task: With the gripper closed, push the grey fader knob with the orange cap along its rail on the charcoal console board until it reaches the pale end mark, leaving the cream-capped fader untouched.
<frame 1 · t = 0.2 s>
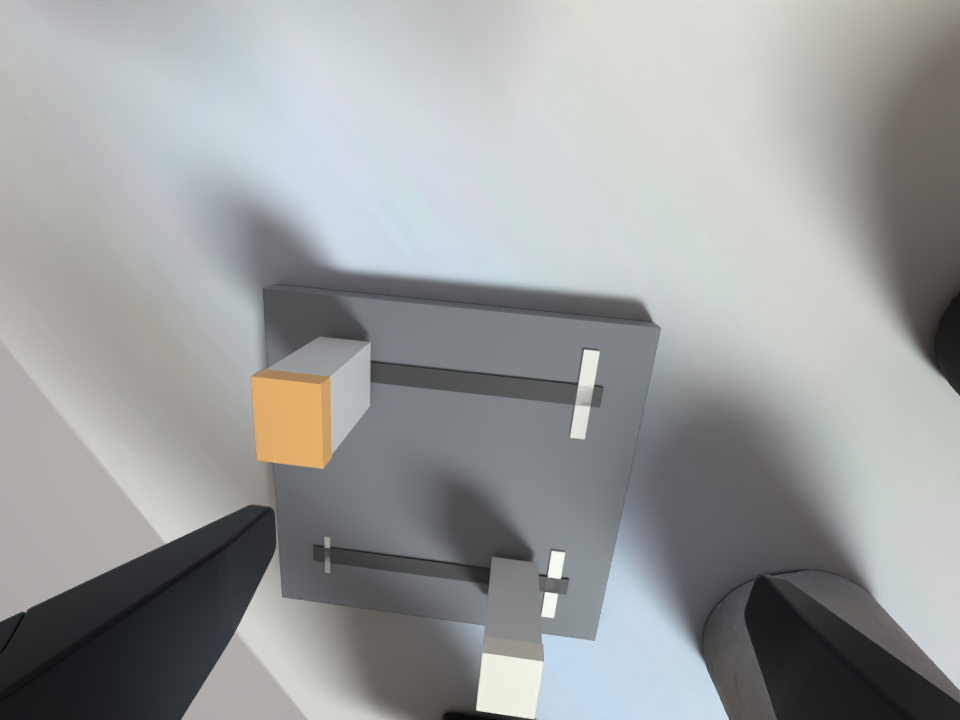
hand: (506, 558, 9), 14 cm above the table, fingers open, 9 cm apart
fader 1: (320, 394, 19), point 4 cm above the table, slide at 5.0 cm
console: (448, 469, 25), on the table
fader 2: (510, 629, 22), point 4 cm above the table, slide at -4.0 cm
pillar candle: (788, 632, 26), on the table
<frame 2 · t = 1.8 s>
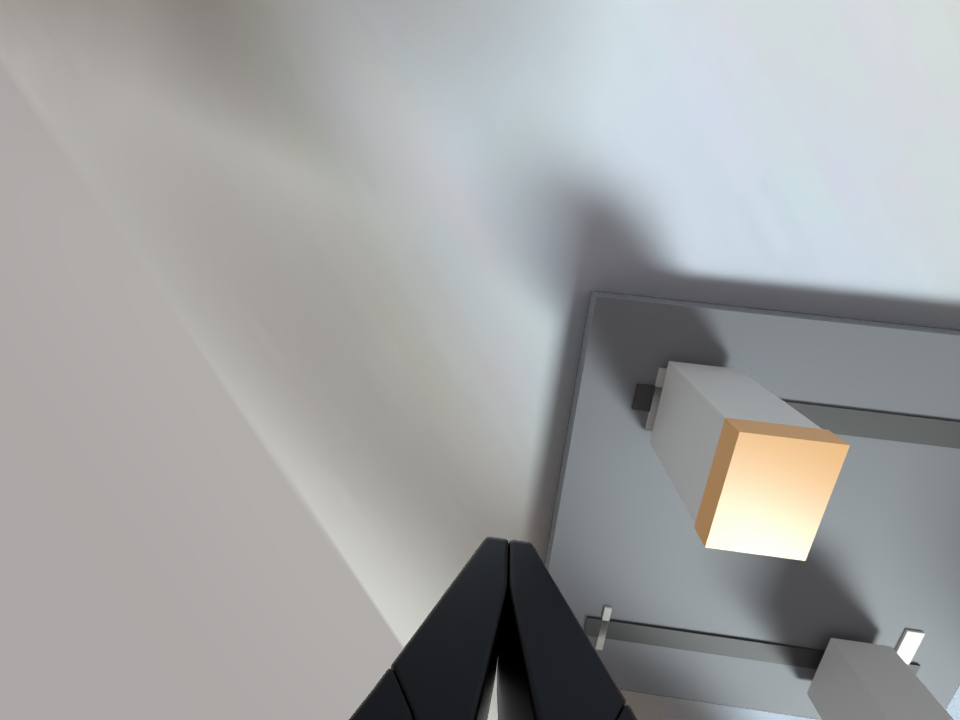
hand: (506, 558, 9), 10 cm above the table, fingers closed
fader 1: (725, 444, 14), point 4 cm above the table, slide at 5.0 cm
console: (769, 525, 20), on the table
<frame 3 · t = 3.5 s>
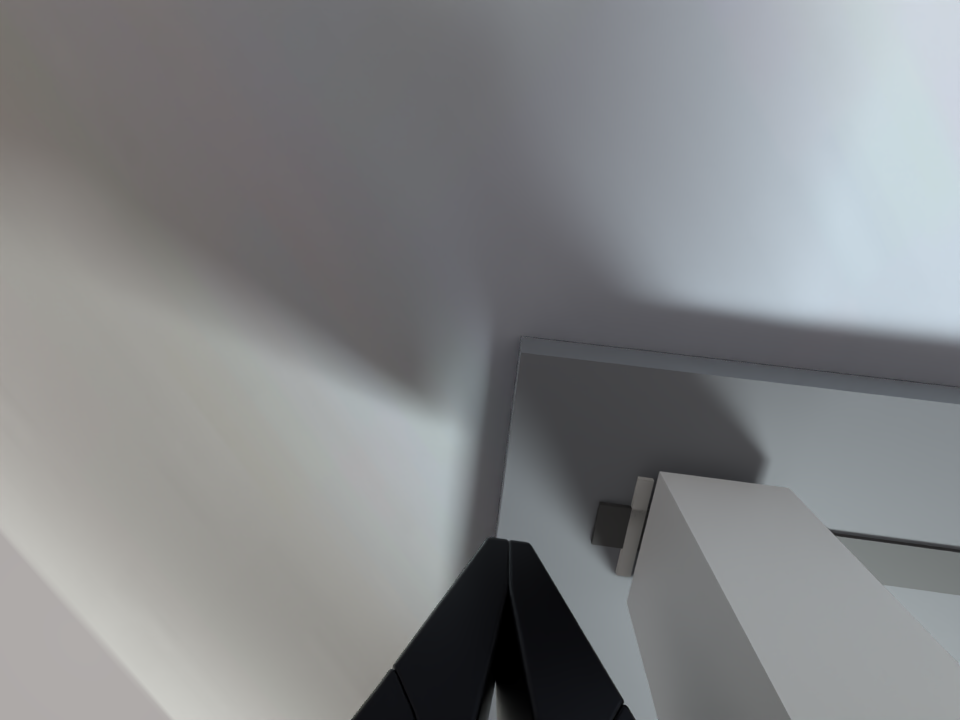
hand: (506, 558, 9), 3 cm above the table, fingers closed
fader 1: (775, 684, 7), point 4 cm above the table, slide at 4.9 cm, touching gripper
console: (817, 702, 12), on the table
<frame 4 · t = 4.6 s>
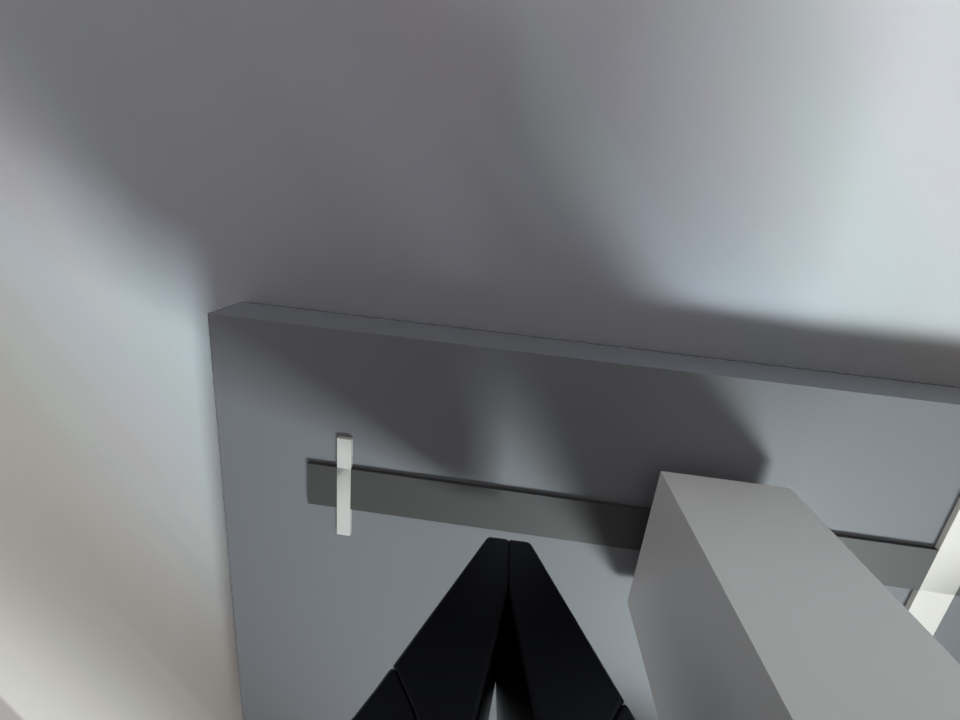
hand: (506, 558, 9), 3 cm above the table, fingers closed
fader 1: (776, 684, 7), point 4 cm above the table, slide at -1.3 cm, touching gripper
console: (582, 666, 13), on the table
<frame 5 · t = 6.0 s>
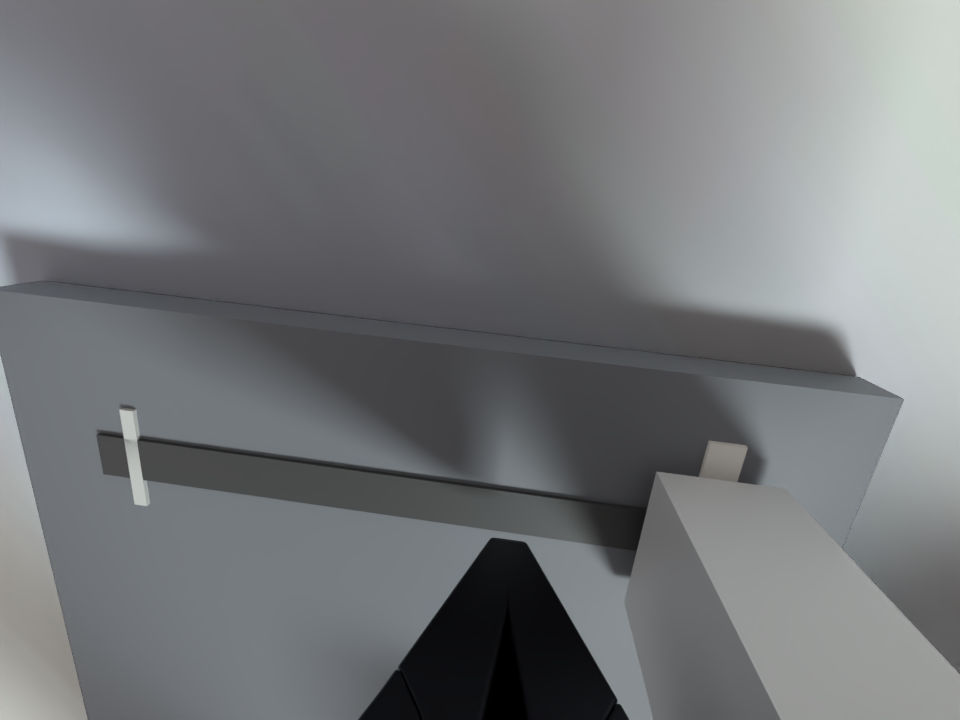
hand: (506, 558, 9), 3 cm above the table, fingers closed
fader 1: (769, 684, 7), point 4 cm above the table, slide at -6.1 cm, touching gripper
console: (408, 639, 13), on the table
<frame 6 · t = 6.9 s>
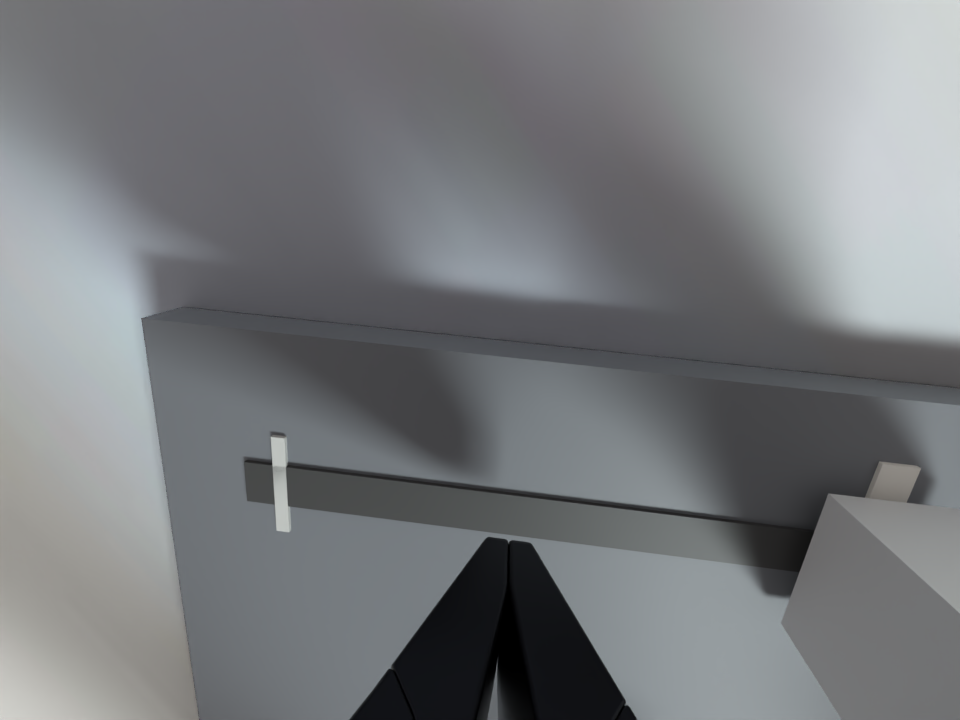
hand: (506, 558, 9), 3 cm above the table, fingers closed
console: (530, 659, 13), on the table
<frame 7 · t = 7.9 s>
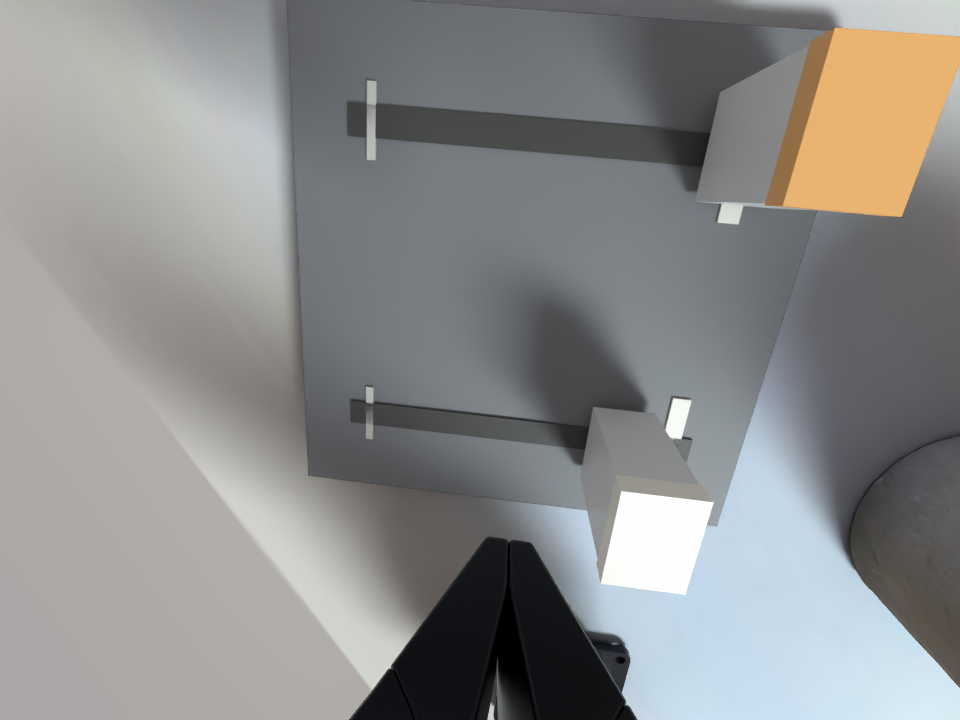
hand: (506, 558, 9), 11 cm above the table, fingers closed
fader 1: (794, 142, 12), point 4 cm above the table, slide at -6.0 cm
console: (533, 293, 18), on the table
fader 2: (632, 487, 16), point 4 cm above the table, slide at -4.0 cm
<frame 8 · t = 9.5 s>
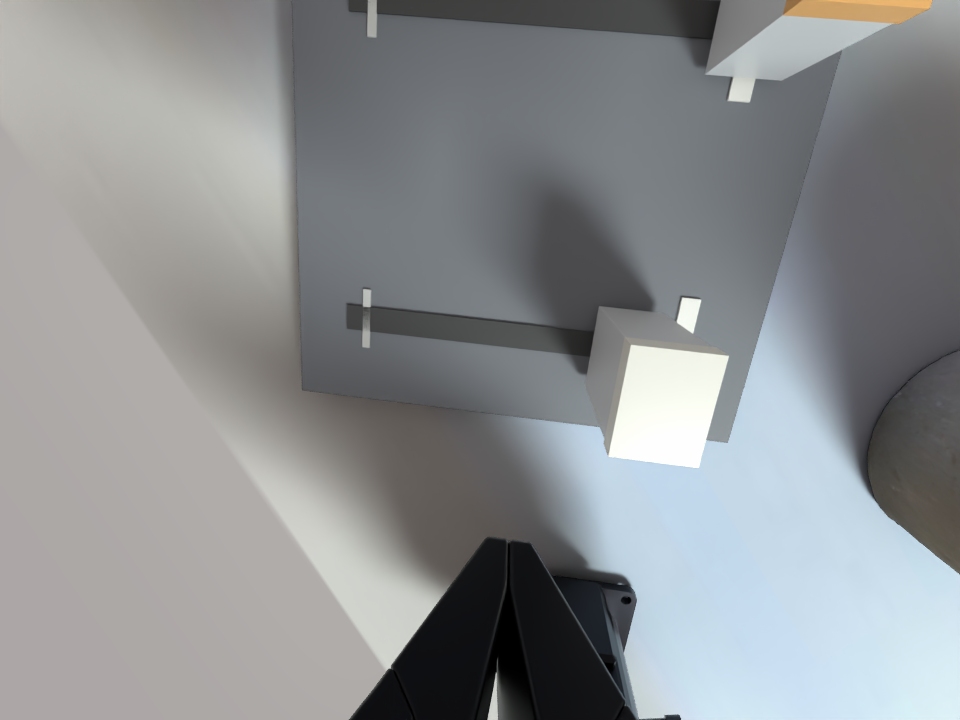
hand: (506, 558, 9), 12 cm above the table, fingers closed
console: (536, 190, 18), on the table
fader 2: (640, 374, 15), point 4 cm above the table, slide at -4.0 cm
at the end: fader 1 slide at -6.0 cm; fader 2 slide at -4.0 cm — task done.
